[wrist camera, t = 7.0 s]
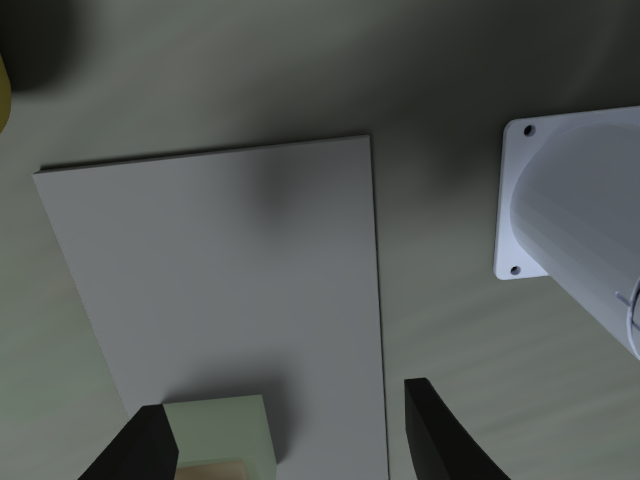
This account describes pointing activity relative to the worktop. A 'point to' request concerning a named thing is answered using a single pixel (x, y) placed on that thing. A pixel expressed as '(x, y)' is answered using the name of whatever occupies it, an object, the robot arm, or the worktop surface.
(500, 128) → the worktop surface
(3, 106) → the flower pot
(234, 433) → the sage brick
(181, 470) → the birch block
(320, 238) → the play mat
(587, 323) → the worktop surface
